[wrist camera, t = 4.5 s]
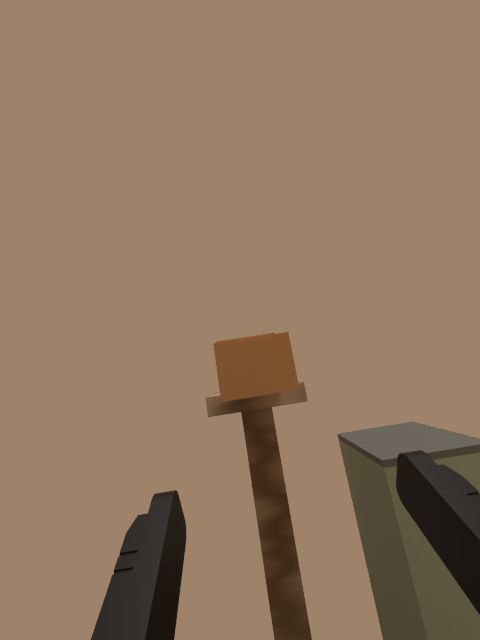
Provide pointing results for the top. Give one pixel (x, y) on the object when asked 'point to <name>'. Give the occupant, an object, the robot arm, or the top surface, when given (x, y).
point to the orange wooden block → (255, 366)
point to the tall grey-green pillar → (408, 532)
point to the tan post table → (272, 508)
